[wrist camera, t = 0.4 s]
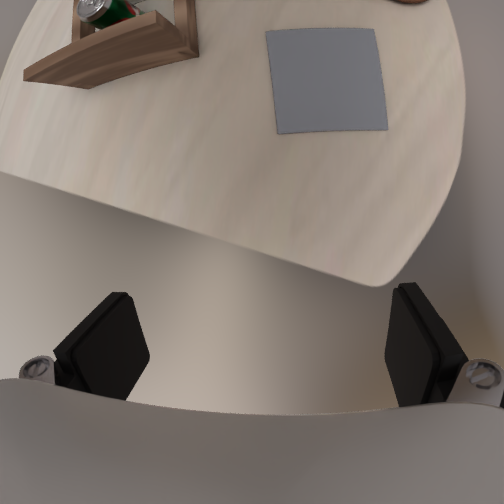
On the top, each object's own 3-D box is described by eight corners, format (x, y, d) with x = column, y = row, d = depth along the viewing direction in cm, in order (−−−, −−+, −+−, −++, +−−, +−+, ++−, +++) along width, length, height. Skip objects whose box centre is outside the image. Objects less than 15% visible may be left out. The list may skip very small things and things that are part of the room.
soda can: (128, 12, 33) (83, -14, 22) (156, 14, 33) (115, -17, 22) (116, 41, 35) (67, 21, 24) (144, 44, 35) (98, 20, 23)
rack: (88, -4, 32) (35, -30, 19) (191, -41, 29) (156, -90, 16) (87, 89, 38) (23, 80, 25) (199, 56, 35) (156, 22, 22)
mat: (266, 33, 33) (265, 31, 32) (372, 30, 31) (373, 29, 30) (278, 134, 37) (277, 133, 37) (386, 130, 35) (388, 129, 34)
